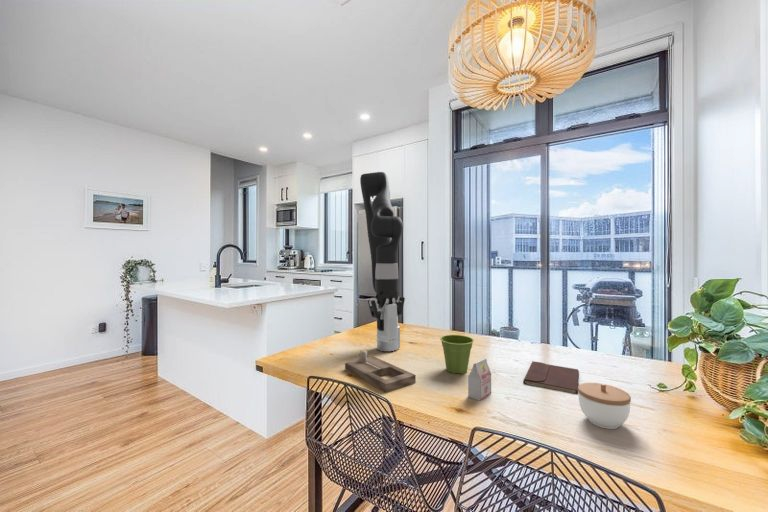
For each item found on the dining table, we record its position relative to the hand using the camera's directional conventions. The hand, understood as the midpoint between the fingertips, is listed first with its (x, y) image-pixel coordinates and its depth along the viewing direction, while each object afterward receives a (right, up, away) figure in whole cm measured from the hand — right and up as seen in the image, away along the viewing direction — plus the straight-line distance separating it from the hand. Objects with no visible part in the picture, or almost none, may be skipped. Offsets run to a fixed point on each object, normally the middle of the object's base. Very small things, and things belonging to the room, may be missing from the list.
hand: (386, 329), depth 106 cm
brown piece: (-3, -17, +4) cm, 17 cm away
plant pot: (+25, -17, +9) cm, 31 cm away
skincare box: (0, -4, 0) cm, 4 cm away
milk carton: (+27, -17, -11) cm, 34 cm away
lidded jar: (+53, -17, -26) cm, 62 cm away
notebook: (+55, -17, +2) cm, 58 cm away
